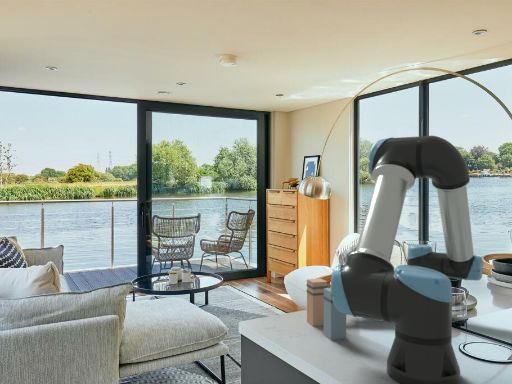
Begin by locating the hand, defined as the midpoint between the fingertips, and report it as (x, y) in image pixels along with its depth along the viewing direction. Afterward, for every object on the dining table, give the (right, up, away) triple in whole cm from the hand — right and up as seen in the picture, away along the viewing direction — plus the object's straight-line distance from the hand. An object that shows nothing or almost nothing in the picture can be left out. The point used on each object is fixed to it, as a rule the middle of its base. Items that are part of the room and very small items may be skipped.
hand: (325, 300), depth 133 cm
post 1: (-3, -6, -1) cm, 7 cm away
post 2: (0, -7, -13) cm, 14 cm away
